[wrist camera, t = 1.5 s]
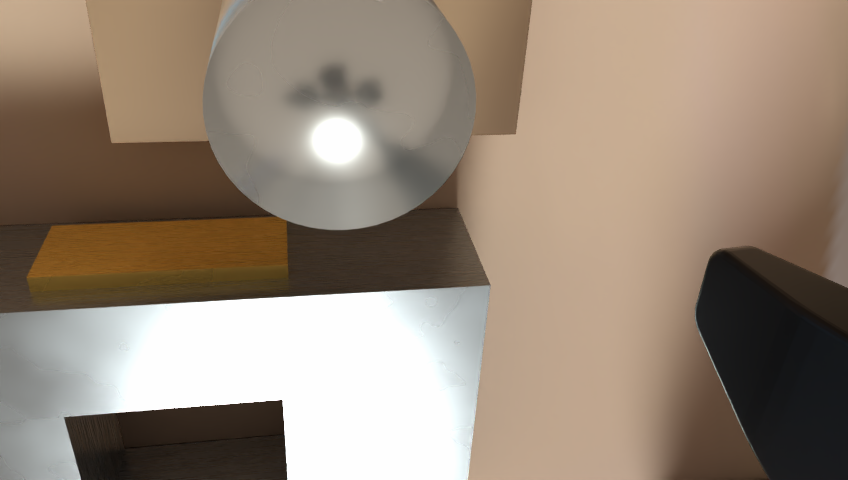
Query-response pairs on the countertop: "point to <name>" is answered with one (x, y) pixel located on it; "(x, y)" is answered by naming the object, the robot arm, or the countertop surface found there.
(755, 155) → the countertop surface
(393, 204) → the steel peg
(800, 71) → the countertop surface
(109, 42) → the tab
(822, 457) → the robot arm
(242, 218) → the rack plate
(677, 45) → the countertop surface
